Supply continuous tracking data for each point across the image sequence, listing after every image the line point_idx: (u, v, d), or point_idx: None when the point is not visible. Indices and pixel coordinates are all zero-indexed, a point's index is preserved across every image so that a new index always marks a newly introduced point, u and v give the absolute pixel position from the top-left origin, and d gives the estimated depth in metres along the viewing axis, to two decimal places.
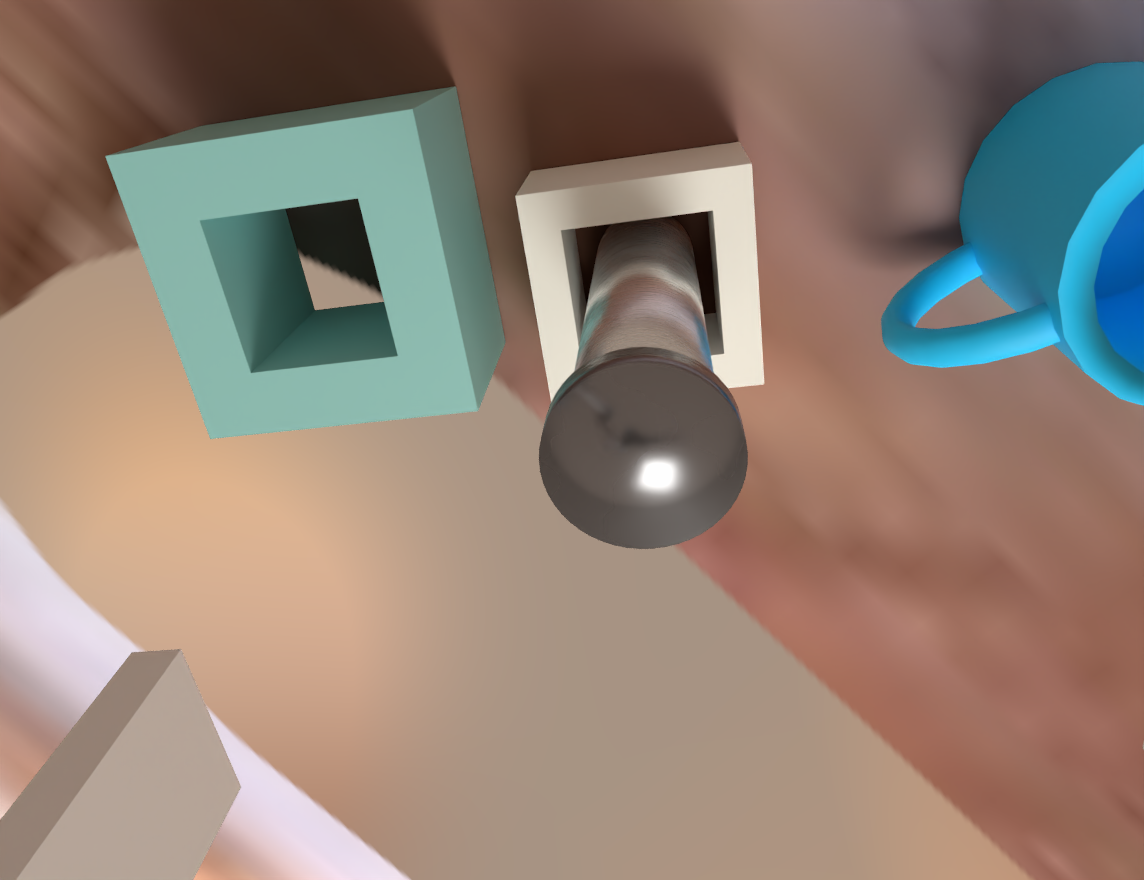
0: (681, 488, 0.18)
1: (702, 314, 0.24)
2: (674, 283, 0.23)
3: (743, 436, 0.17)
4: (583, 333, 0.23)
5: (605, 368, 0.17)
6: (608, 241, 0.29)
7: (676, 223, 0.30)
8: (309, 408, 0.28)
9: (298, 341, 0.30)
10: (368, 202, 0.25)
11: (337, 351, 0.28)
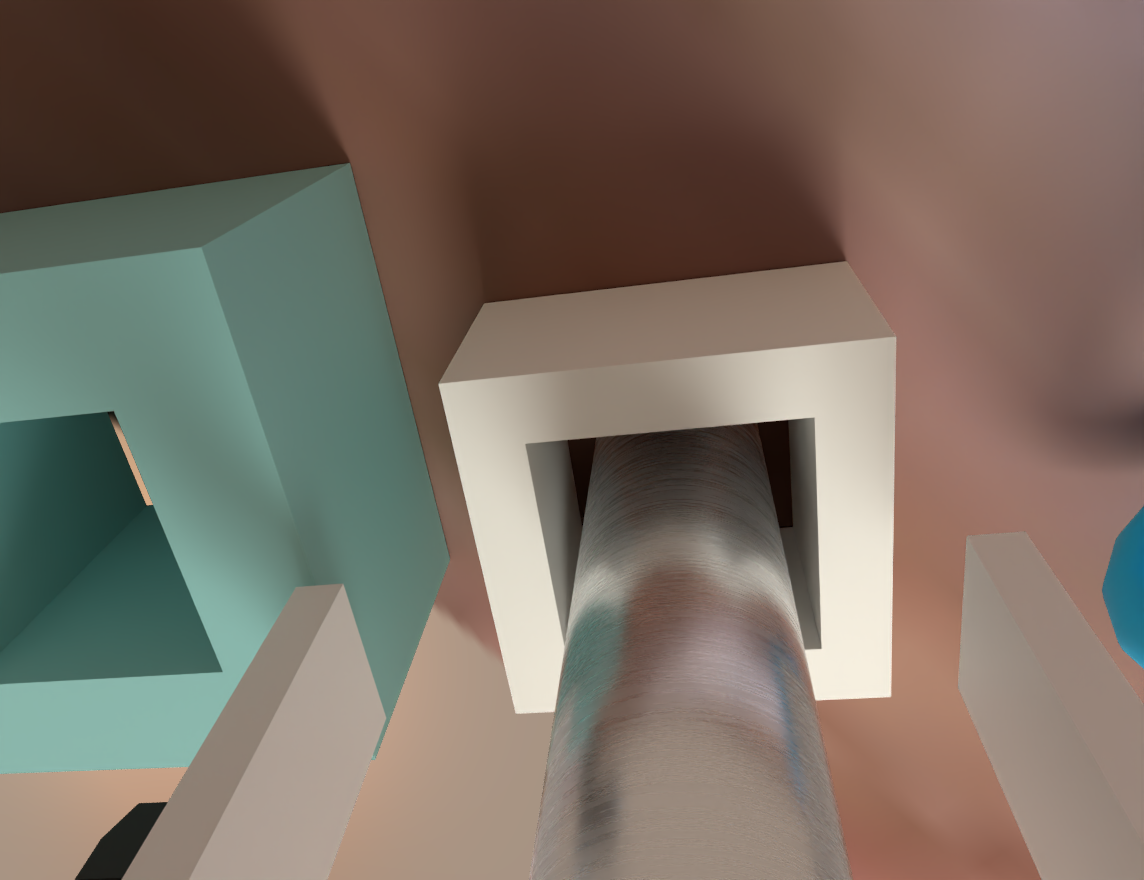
0: None
1: (810, 686, 0.11)
2: (753, 627, 0.11)
3: None
4: (552, 770, 0.10)
5: None
6: (615, 441, 0.16)
7: None
8: (78, 742, 0.16)
9: (85, 593, 0.18)
10: (135, 418, 0.13)
11: (131, 639, 0.16)
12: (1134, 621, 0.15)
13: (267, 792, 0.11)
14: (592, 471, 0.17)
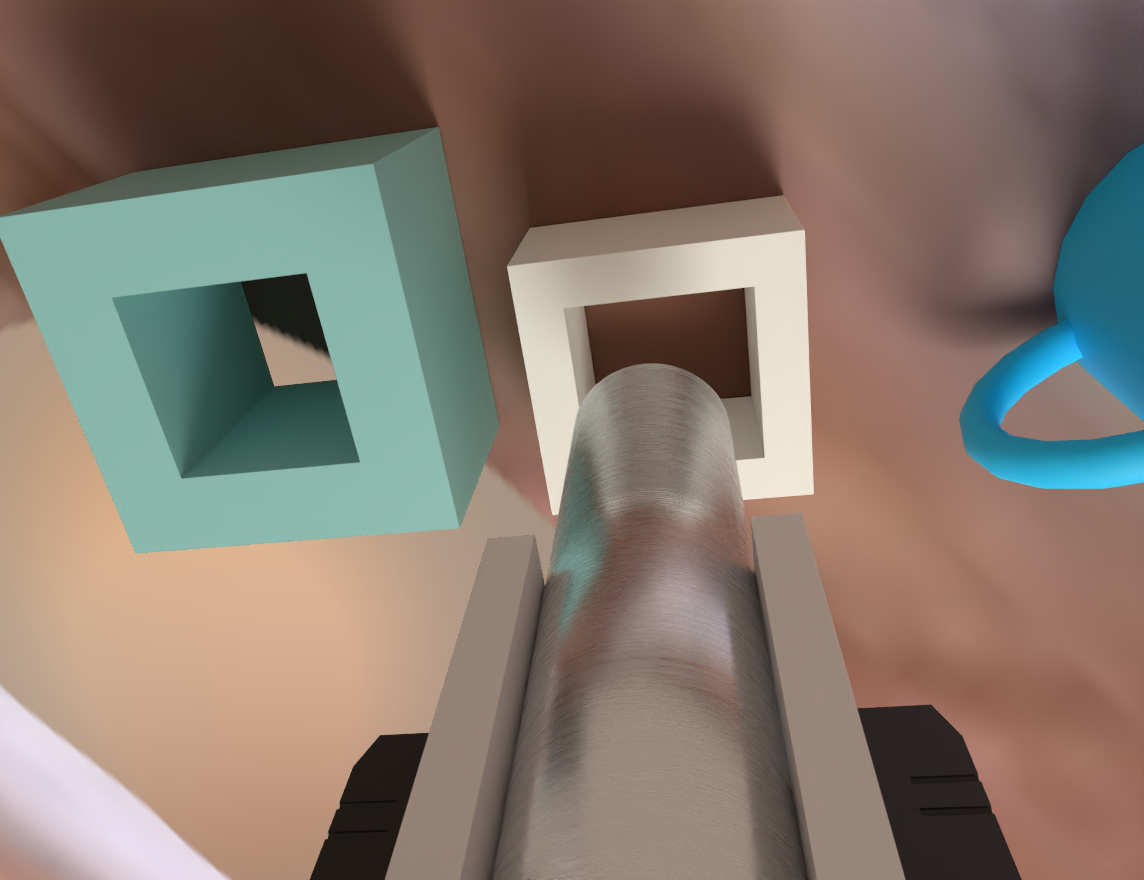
0: None
1: (768, 657, 0.12)
2: (713, 601, 0.12)
3: None
4: (522, 734, 0.11)
5: None
6: (589, 433, 0.17)
7: (703, 388, 0.18)
8: (253, 521, 0.23)
9: (246, 432, 0.25)
10: (319, 278, 0.20)
11: (290, 451, 0.23)
12: (972, 431, 0.22)
13: (510, 724, 0.11)
14: (568, 462, 0.17)
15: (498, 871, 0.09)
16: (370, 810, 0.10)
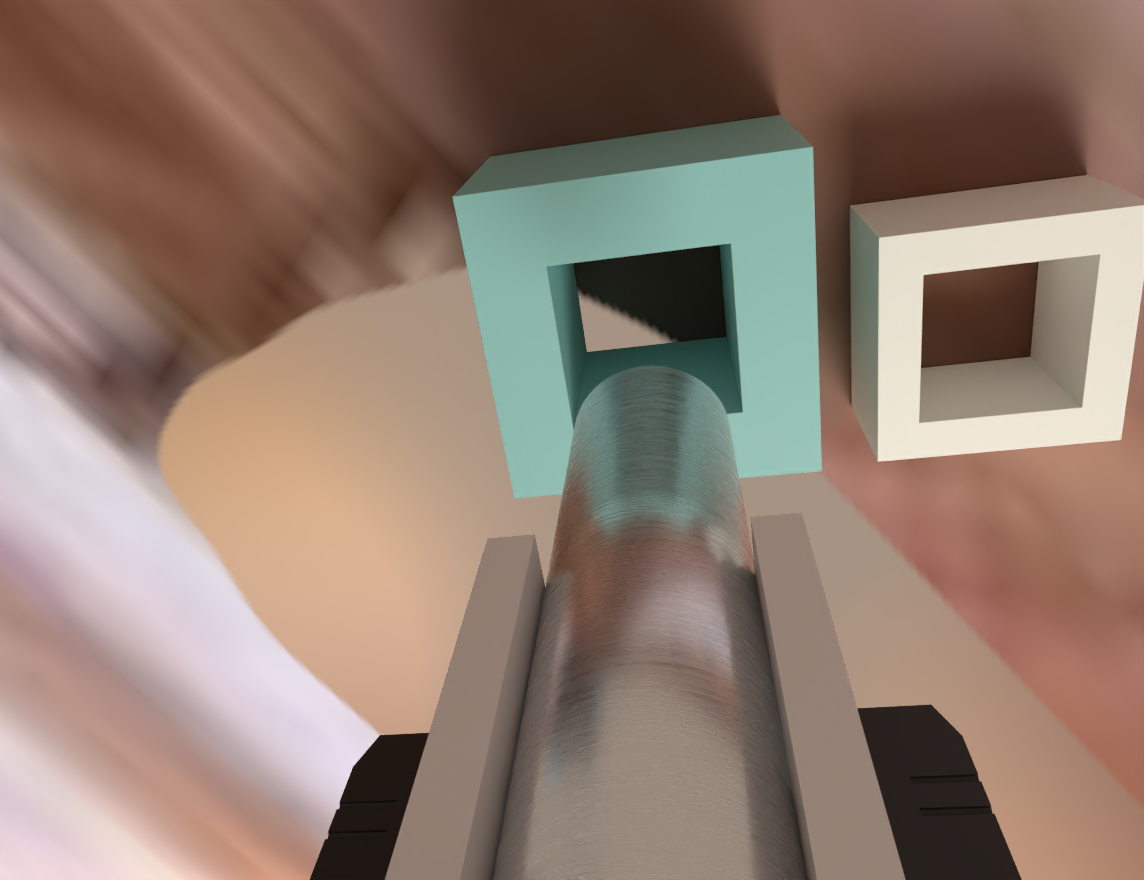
0: None
1: (768, 661, 0.12)
2: (713, 606, 0.12)
3: None
4: (522, 739, 0.11)
5: None
6: (589, 435, 0.17)
7: (703, 390, 0.18)
8: None
9: None
10: (742, 247, 0.23)
11: None
12: None
13: (509, 723, 0.11)
14: (568, 465, 0.17)
15: (498, 878, 0.09)
16: (370, 810, 0.10)
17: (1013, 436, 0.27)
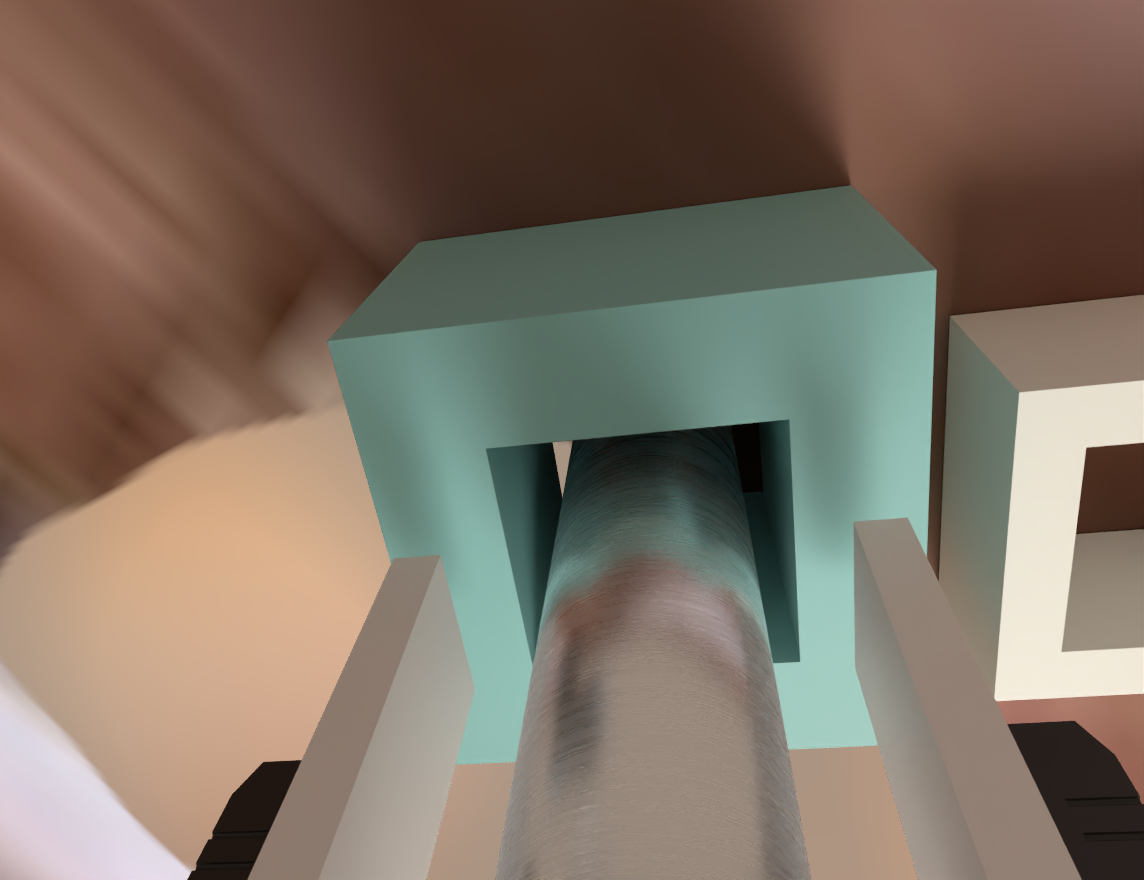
0: None
1: (760, 605, 0.13)
2: (709, 554, 0.13)
3: None
4: (536, 671, 0.12)
5: None
6: None
7: None
8: None
9: None
10: (807, 426, 0.14)
11: None
12: None
13: (391, 750, 0.11)
14: None
15: (516, 784, 0.10)
16: (241, 840, 0.10)
17: None
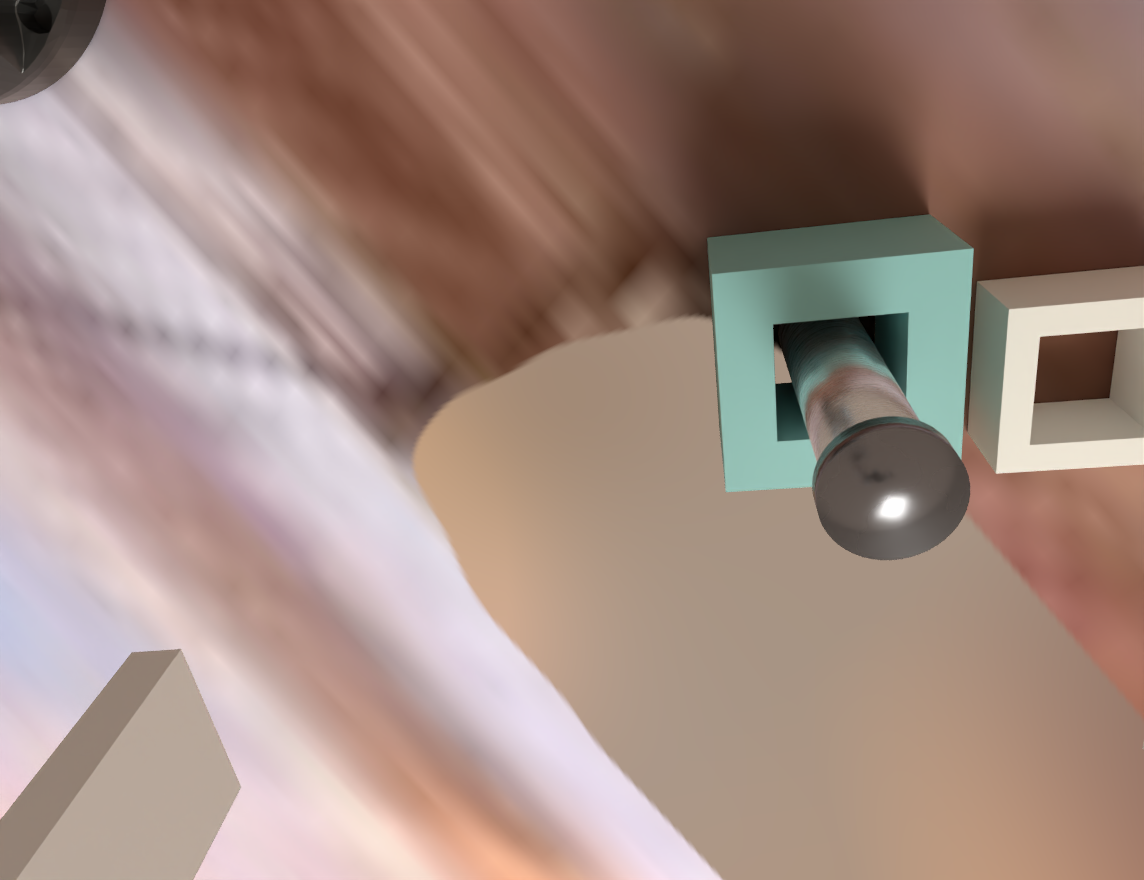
0: (918, 517, 0.25)
1: None
2: (878, 361, 0.31)
3: (968, 482, 0.25)
4: (814, 398, 0.30)
5: (874, 431, 0.25)
6: None
7: None
8: None
9: (786, 414, 0.37)
10: (916, 315, 0.32)
11: None
12: None
13: None
14: (787, 335, 0.37)
15: (821, 421, 0.28)
16: None
17: (1100, 457, 0.36)
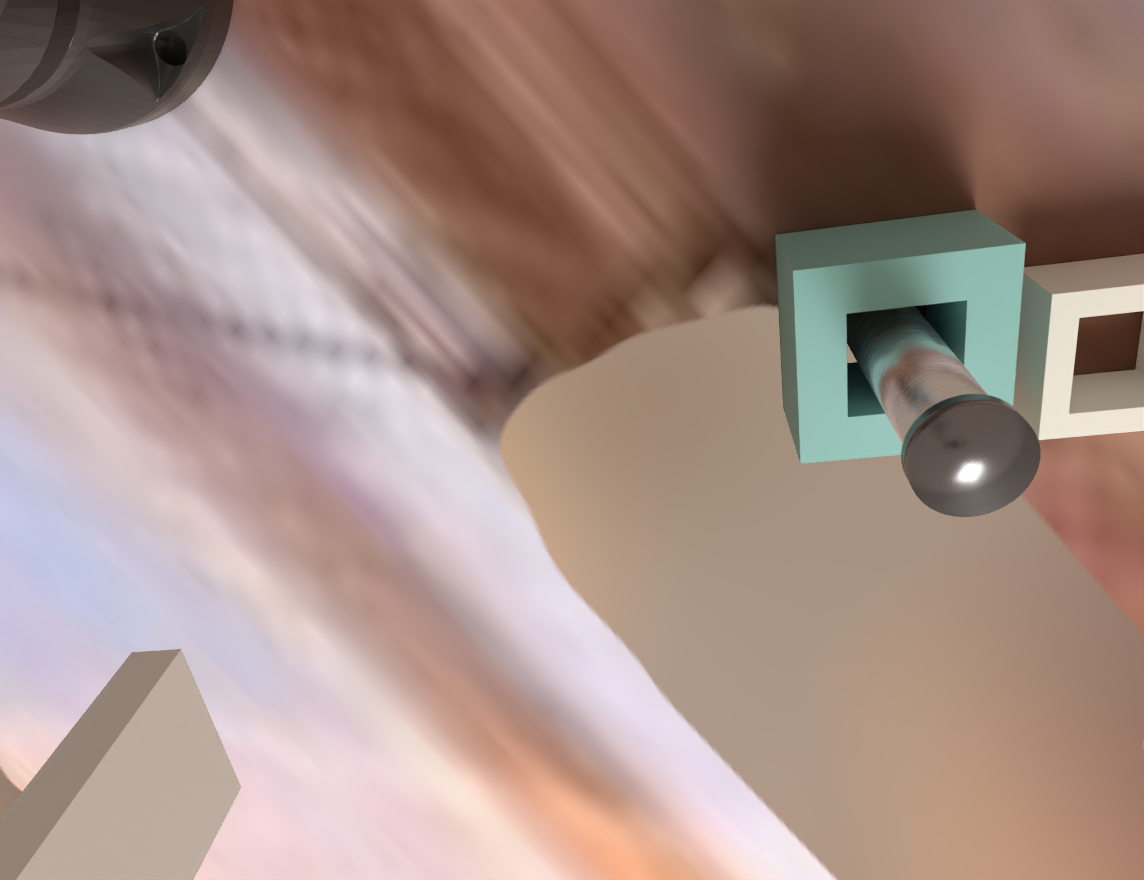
0: (995, 479, 0.30)
1: None
2: (943, 344, 0.35)
3: (1039, 448, 0.29)
4: (890, 379, 0.34)
5: (959, 407, 0.29)
6: None
7: None
8: (883, 442, 0.39)
9: (850, 392, 0.41)
10: (974, 303, 0.36)
11: None
12: None
13: None
14: (850, 321, 0.41)
15: (902, 399, 0.33)
16: None
17: (1131, 422, 0.40)
